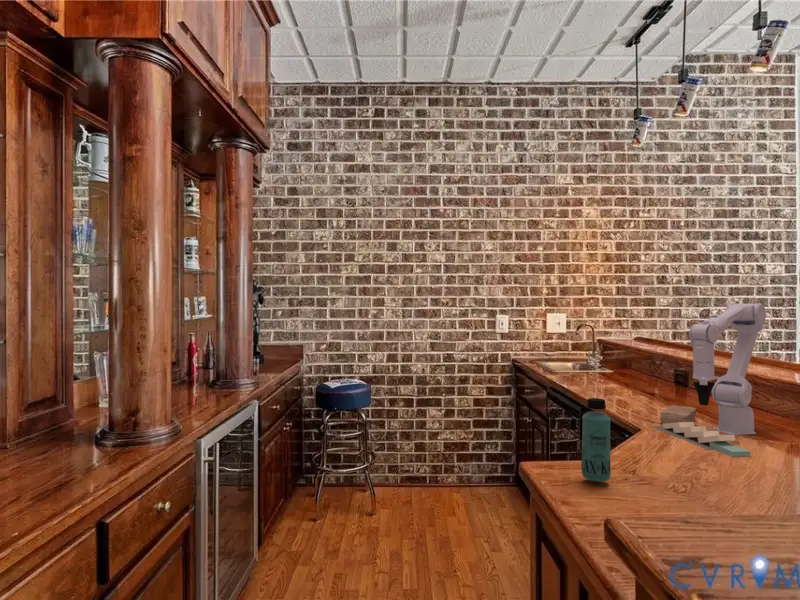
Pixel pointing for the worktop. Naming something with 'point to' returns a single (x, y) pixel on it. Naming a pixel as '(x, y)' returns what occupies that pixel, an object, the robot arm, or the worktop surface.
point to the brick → (678, 414)
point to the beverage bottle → (596, 442)
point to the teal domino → (729, 449)
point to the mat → (682, 436)
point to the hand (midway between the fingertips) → (703, 405)
